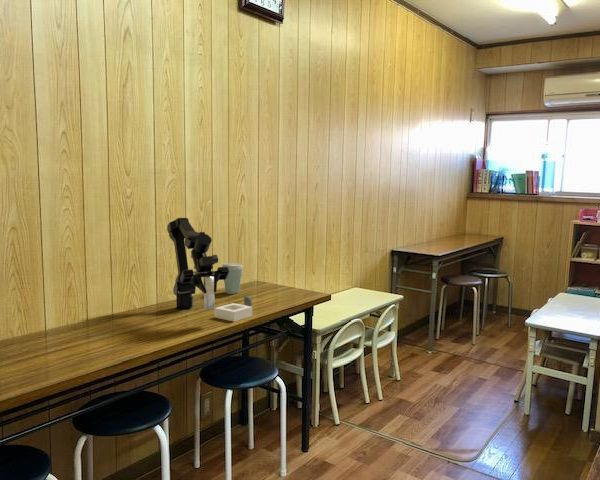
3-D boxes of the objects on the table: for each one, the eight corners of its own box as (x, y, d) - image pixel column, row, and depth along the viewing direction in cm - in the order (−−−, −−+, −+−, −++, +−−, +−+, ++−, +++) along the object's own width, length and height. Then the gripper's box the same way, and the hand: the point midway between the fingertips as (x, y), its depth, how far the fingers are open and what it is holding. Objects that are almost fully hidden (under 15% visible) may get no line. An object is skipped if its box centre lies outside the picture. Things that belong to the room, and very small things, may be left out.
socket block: (234, 321, 214) (234, 312, 213) (214, 317, 220) (214, 308, 220) (252, 316, 223) (252, 306, 222) (233, 312, 229) (232, 303, 229)
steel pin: (203, 309, 206) (202, 277, 204) (205, 306, 210) (204, 275, 208) (213, 309, 205) (212, 277, 204) (215, 307, 209) (215, 276, 208)
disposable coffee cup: (235, 289, 275) (235, 261, 273) (247, 293, 267) (247, 263, 265) (218, 292, 268) (217, 263, 267) (229, 296, 260) (229, 266, 258)
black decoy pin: (243, 311, 231) (243, 297, 230) (244, 309, 234) (244, 296, 233) (251, 311, 231) (250, 297, 230) (252, 309, 234) (252, 296, 233)
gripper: (181, 249, 204) (191, 282, 195) (227, 246, 213) (238, 278, 204) (176, 266, 211) (185, 299, 203) (220, 263, 220) (230, 294, 212)
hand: (210, 292), depth 206 cm, fingers closed on steel pin, 4 cm apart
